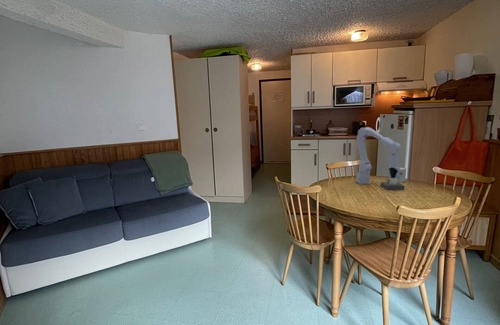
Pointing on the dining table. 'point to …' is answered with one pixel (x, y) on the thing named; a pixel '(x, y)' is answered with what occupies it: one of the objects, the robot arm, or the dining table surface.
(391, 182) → the plug
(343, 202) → the dining table surface
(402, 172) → the light bulb box
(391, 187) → the socket
